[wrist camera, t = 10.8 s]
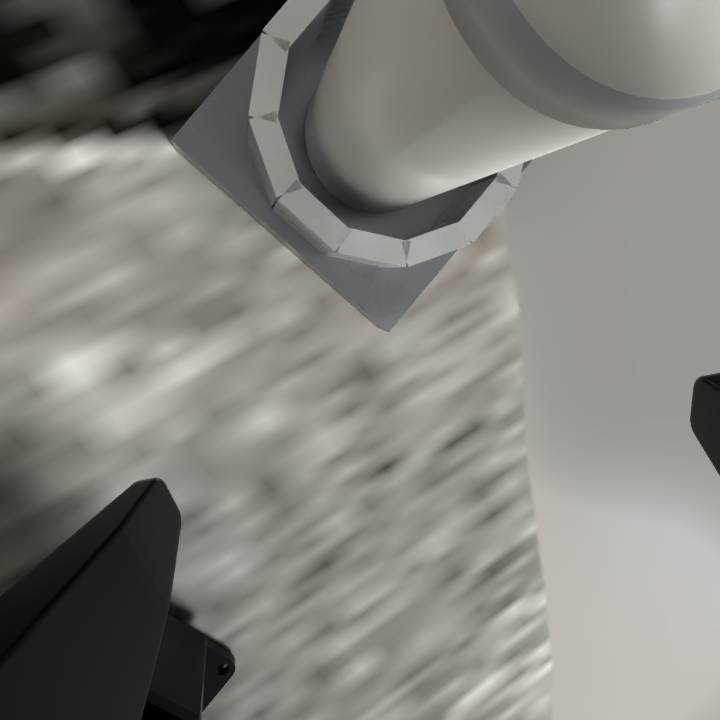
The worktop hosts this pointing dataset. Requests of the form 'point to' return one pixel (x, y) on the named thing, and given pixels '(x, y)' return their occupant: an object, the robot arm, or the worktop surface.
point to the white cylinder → (496, 86)
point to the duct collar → (305, 190)
